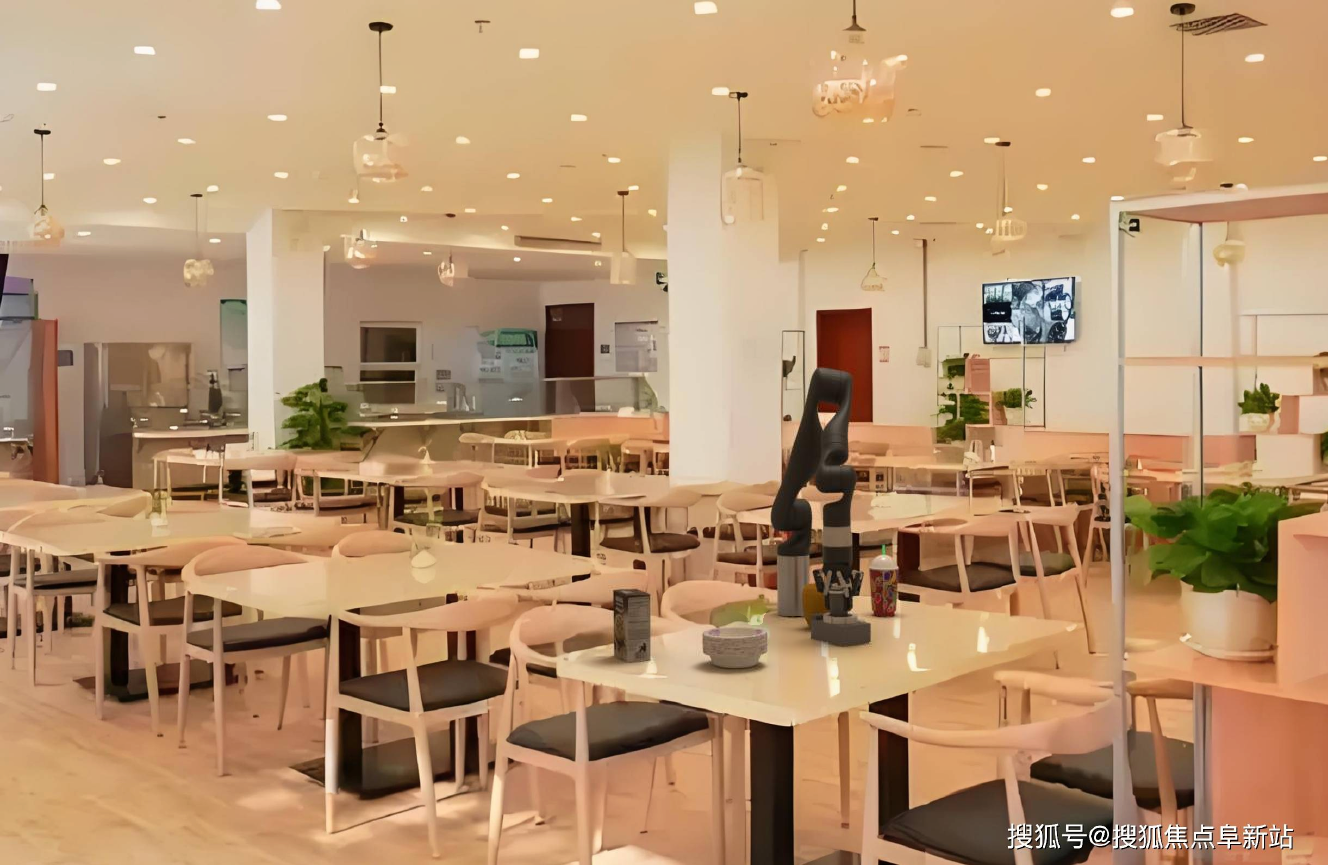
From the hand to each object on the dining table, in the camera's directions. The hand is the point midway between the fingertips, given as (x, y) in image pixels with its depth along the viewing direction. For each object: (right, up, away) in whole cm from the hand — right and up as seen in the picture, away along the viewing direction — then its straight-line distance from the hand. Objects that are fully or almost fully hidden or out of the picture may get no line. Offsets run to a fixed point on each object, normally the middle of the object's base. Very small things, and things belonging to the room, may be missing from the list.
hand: (838, 610), depth 323 cm
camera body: (+1, -8, +1) cm, 8 cm away
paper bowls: (-28, -9, -27) cm, 40 cm away
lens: (0, -2, 0) cm, 2 cm away
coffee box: (-52, -9, -18) cm, 56 cm away
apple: (-2, -8, +18) cm, 19 cm away
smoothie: (+18, -7, +38) cm, 42 cm away
